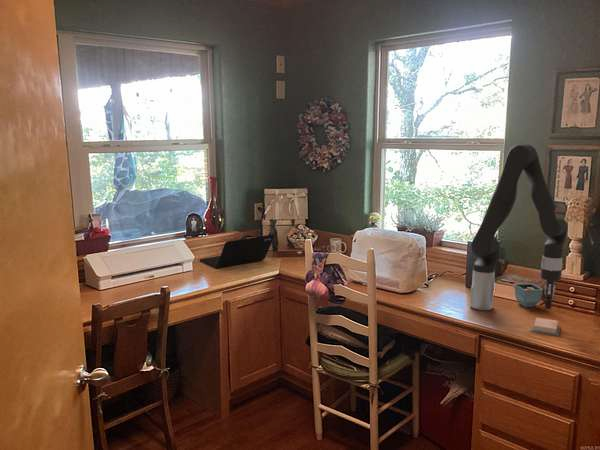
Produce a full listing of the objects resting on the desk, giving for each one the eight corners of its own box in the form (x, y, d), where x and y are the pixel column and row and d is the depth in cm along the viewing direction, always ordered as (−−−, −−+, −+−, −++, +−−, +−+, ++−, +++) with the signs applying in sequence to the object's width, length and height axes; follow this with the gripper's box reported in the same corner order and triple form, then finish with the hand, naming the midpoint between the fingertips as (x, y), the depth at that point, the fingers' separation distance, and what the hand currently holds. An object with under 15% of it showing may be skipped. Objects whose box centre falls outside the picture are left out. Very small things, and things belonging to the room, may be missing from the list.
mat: (530, 331, 201) (530, 330, 201) (532, 323, 210) (532, 322, 210) (558, 335, 197) (559, 334, 196) (559, 327, 205) (559, 326, 205)
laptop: (245, 254, 334) (244, 225, 330) (276, 265, 304) (275, 234, 300) (198, 261, 315) (197, 230, 312) (226, 274, 285) (225, 241, 281)
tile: (535, 322, 210) (533, 330, 201) (536, 317, 210) (534, 325, 201) (557, 325, 206) (556, 333, 197) (557, 320, 206) (556, 329, 197)
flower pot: (541, 308, 228) (543, 289, 226) (523, 309, 226) (525, 290, 225) (530, 301, 236) (531, 283, 235) (512, 303, 235) (514, 284, 233)
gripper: (542, 262, 211) (538, 302, 214) (540, 270, 200) (536, 312, 203) (562, 264, 208) (558, 305, 211) (561, 272, 196) (557, 315, 199)
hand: (548, 308), depth 207 cm, fingers closed
